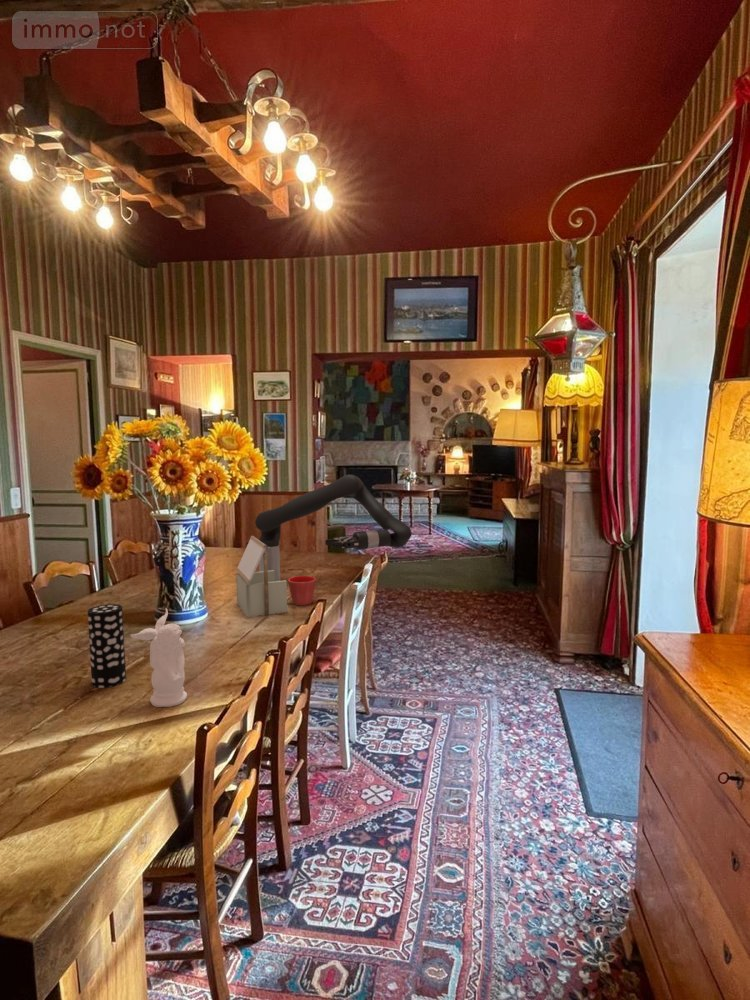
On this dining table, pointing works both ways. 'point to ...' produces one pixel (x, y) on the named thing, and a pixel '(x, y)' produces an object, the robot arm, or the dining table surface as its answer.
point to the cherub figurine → (166, 662)
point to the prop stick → (266, 584)
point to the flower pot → (302, 589)
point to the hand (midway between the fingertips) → (328, 544)
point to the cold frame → (261, 594)
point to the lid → (251, 559)
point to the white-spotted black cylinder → (106, 645)
